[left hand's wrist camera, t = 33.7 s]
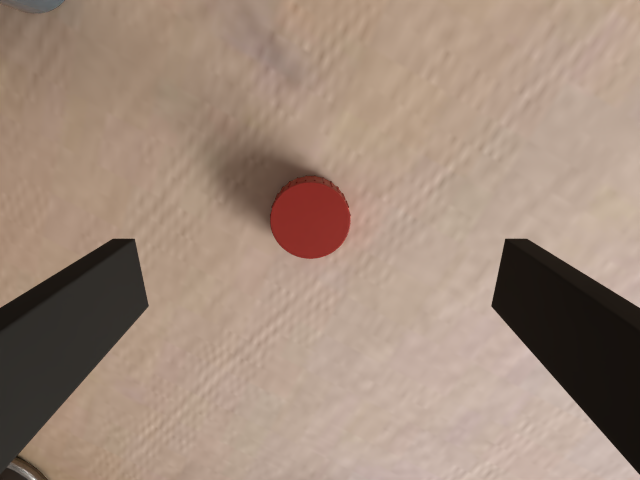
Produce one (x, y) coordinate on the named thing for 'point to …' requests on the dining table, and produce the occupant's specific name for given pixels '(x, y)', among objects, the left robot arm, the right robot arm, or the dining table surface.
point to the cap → (310, 217)
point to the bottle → (32, 5)
